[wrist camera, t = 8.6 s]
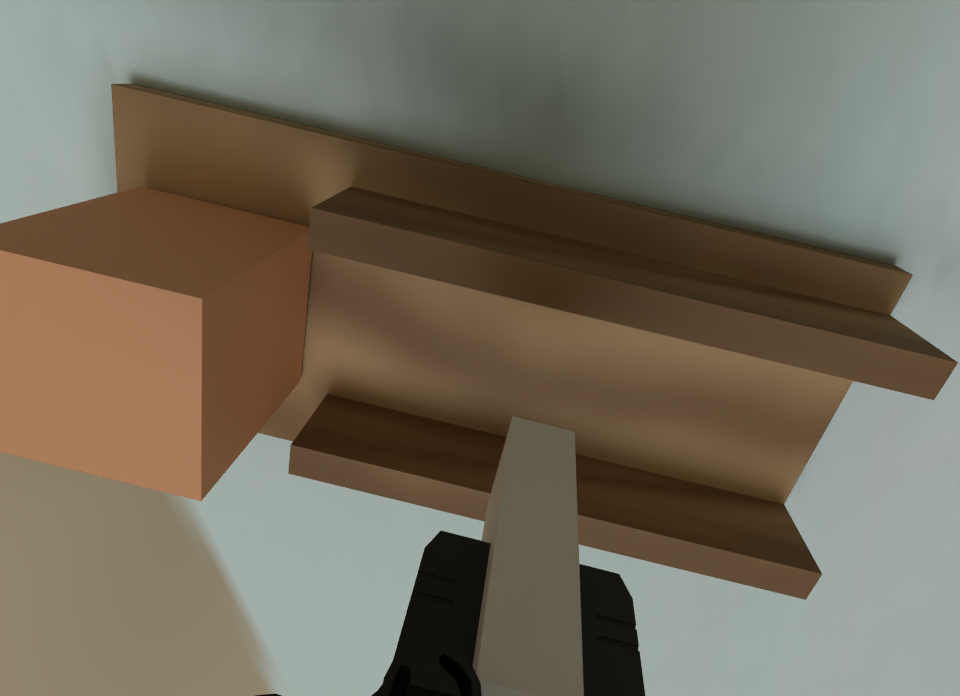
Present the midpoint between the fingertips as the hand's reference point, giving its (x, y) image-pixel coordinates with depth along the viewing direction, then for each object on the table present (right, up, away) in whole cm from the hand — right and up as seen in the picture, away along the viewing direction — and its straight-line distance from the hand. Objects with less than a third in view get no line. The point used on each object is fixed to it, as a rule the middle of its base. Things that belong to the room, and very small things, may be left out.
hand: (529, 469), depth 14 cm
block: (-10, +5, +7) cm, 13 cm away
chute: (-1, +3, +8) cm, 9 cm away
